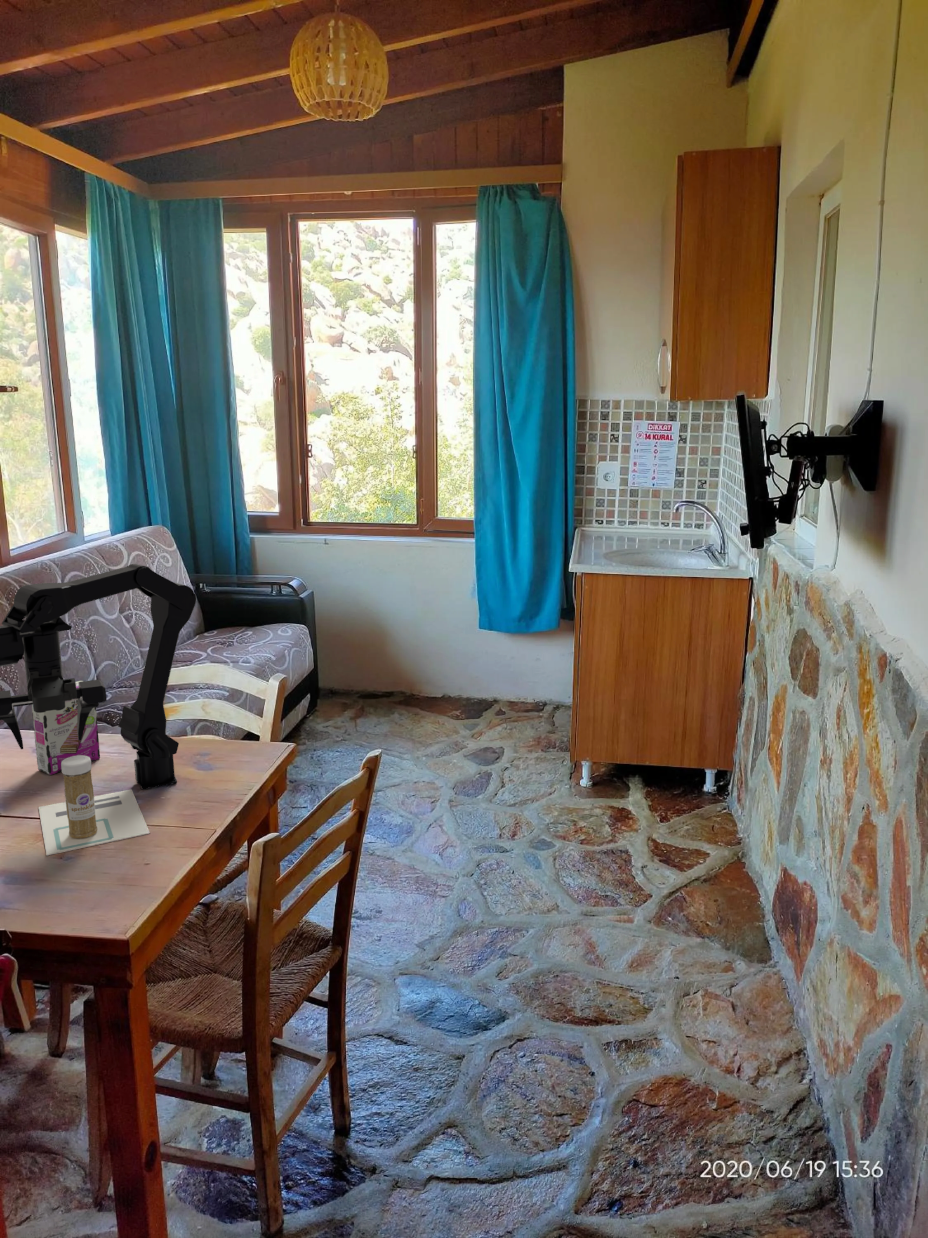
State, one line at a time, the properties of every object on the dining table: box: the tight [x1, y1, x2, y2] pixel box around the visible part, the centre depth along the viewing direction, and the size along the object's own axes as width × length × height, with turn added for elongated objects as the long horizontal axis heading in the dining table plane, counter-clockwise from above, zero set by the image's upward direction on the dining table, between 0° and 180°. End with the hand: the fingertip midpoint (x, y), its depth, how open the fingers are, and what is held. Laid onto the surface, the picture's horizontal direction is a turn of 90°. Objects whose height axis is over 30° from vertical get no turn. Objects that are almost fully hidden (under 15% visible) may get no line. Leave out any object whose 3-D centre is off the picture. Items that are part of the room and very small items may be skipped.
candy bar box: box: [31, 680, 101, 776], centre depth 175 cm, size 11×5×16 cm, turn 144°
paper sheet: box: [38, 789, 151, 857], centre depth 153 cm, size 16×20×1 cm
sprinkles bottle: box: [61, 755, 97, 838], centre depth 146 cm, size 5×5×14 cm
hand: (51, 744), depth 153 cm, fingers open, 9 cm apart
